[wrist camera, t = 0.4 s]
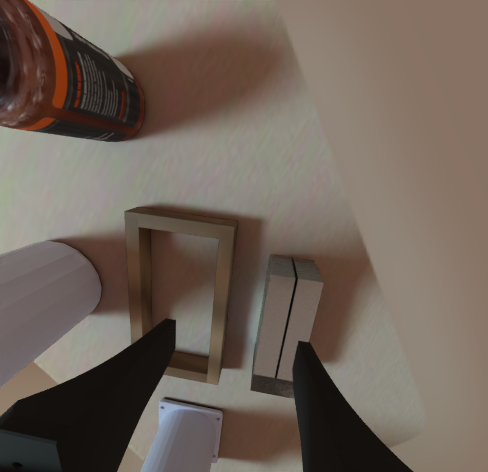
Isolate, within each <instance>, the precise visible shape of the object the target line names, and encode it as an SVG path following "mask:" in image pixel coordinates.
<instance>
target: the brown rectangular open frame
mask: <svg viewBox="0 0 488 472" xmlns="http://www.w3.org/2000/svg"><path fill="white" fill-rule="evenodd" d="M124 213H125V232H126V251H127V270H128V289H129V308H130V326H131V345H132V344H133V343H134V342H136V341H137V340H138V339H140V338H141V337H142V336H144V335H145V334H146V333H148V332H149V331H150V330H152V289H151V229H156V230H162V231H169V232H176V233H183V234H189V235H196V236H203V237H210V238H216V239H219V244H218V256H217V267H216V279H215V291H214V303H213V314H212V326H211V338H210V350H209V358H205V357H200V356H195V355H190V354H184V353H179V352H173V355H172V357H171V360H170V362H169V365H168V367H167V368H166V370H165V372H164V374H163V375H168V376H173V377H178V378H184V379H189V380H194V381H199V382H204V383H209V384H214V385H218V382H219V378H220V374H221V370H222V362H223V353H224V344H225V335H226V326H227V317H228V308H229V299H230V290H231V280H232V271H233V262H234V253H235V244H236V235H237V226H238V221H233V220H226V219H219V218H212V217H205V216H198V215H191V214H184V213H176V212H169V211H162V210H155V209H148V208H141V207H136V208H133V209H130V210H127V211H124Z"/></svg>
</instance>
